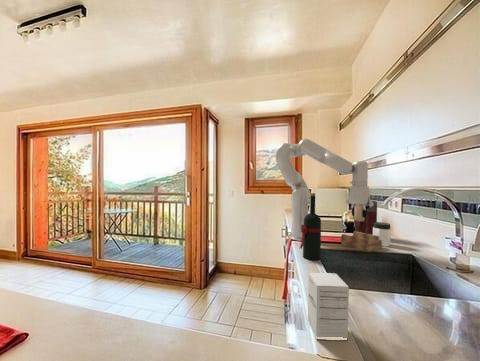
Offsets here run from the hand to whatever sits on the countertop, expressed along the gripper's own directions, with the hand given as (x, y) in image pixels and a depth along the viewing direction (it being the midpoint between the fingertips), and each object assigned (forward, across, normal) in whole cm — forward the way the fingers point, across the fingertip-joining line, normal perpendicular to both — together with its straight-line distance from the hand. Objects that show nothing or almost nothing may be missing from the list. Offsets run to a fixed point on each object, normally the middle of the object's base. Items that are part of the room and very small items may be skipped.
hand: (359, 216), depth 128 cm
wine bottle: (+17, -2, -40) cm, 43 cm away
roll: (+3, 0, 0) cm, 3 cm away
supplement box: (+17, +32, -79) cm, 87 cm away
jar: (+17, +6, +14) cm, 23 cm away
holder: (+17, +1, 0) cm, 17 cm away
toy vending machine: (+17, -8, +23) cm, 30 cm away
